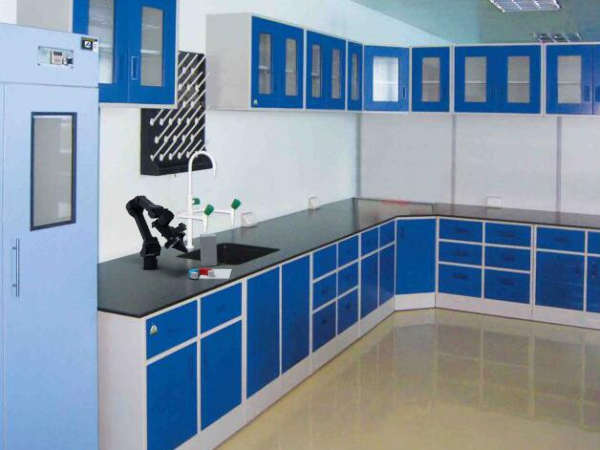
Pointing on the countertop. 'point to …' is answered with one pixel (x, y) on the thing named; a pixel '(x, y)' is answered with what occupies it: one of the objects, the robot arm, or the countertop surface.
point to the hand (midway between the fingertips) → (187, 252)
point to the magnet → (200, 272)
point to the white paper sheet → (218, 274)
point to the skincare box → (208, 249)
